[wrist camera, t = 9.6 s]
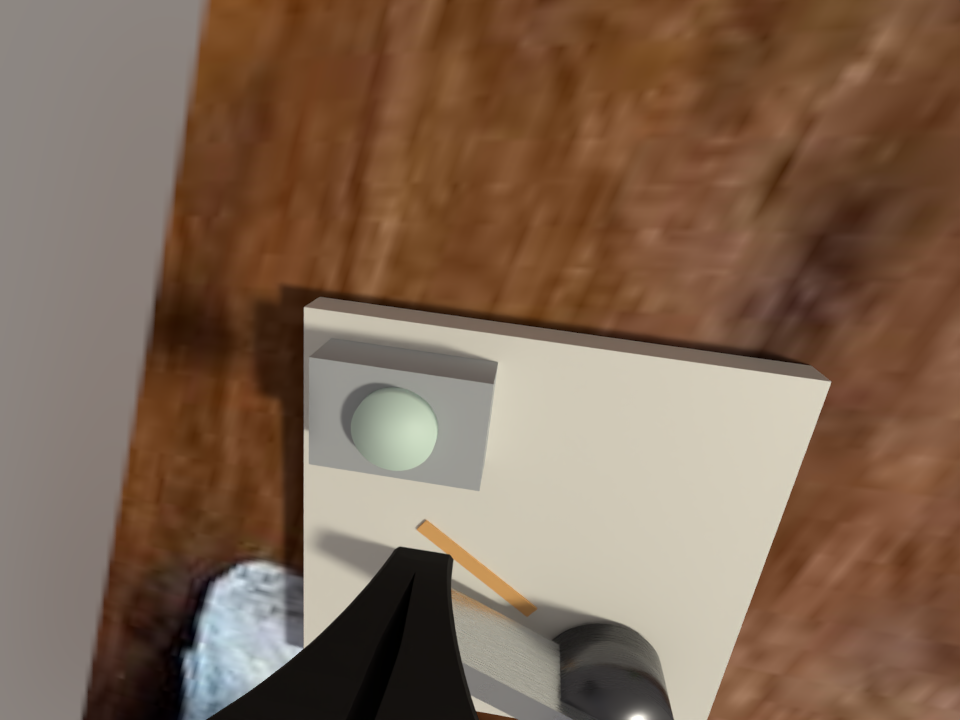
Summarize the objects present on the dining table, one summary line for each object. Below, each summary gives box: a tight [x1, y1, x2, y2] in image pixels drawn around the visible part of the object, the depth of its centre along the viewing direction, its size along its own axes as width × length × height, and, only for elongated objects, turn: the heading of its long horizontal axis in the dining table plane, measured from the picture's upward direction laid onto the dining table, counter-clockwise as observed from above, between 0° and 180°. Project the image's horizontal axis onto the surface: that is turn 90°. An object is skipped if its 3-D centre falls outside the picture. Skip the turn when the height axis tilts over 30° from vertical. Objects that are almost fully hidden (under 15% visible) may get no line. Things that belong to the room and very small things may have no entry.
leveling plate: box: [304, 297, 831, 720], centre depth 22 cm, size 18×18×4 cm
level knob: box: [451, 588, 674, 720], centre depth 22 cm, size 12×5×4 cm, turn 61°
